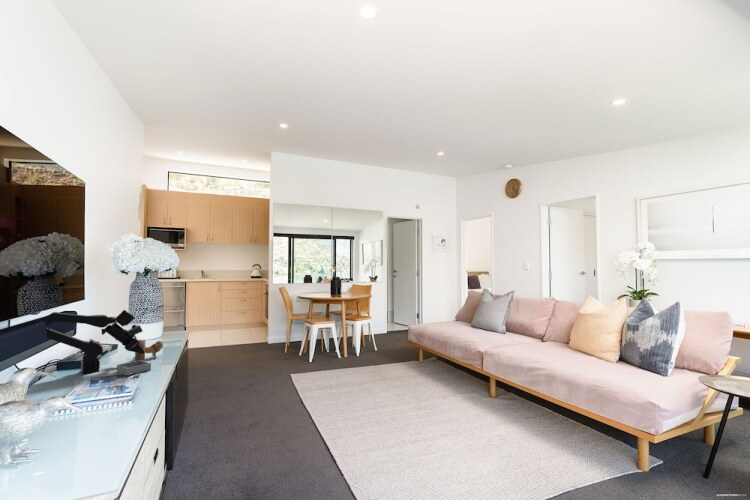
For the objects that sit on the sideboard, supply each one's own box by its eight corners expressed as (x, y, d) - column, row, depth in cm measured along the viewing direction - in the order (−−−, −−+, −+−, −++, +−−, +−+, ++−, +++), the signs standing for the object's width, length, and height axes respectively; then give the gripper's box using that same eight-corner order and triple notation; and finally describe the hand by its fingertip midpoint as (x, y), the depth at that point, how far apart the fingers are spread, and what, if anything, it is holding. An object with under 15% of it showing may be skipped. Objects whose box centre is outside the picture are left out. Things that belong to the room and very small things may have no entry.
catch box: (126, 375, 170) (126, 368, 171) (116, 371, 176) (117, 364, 177) (150, 370, 179) (150, 363, 179) (140, 366, 185) (141, 359, 186)
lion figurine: (161, 355, 209) (162, 339, 209) (163, 357, 205) (164, 341, 205) (131, 359, 200) (132, 343, 200) (133, 361, 196) (133, 344, 196)
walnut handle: (136, 366, 186) (137, 342, 187) (132, 364, 189) (133, 341, 189) (146, 364, 190) (147, 340, 191) (142, 362, 193) (143, 339, 193)
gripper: (133, 323, 181) (158, 342, 187) (130, 318, 195) (153, 336, 202) (114, 341, 175) (140, 359, 182) (112, 334, 190) (136, 352, 196)
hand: (143, 351), depth 191 cm, fingers open, 9 cm apart
